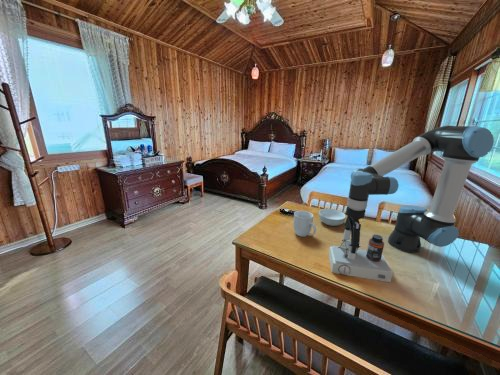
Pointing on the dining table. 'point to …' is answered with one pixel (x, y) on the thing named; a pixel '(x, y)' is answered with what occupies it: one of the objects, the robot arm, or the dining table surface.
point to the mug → (303, 223)
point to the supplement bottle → (375, 248)
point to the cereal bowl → (332, 217)
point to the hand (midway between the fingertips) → (348, 249)
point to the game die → (346, 246)
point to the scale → (359, 265)
